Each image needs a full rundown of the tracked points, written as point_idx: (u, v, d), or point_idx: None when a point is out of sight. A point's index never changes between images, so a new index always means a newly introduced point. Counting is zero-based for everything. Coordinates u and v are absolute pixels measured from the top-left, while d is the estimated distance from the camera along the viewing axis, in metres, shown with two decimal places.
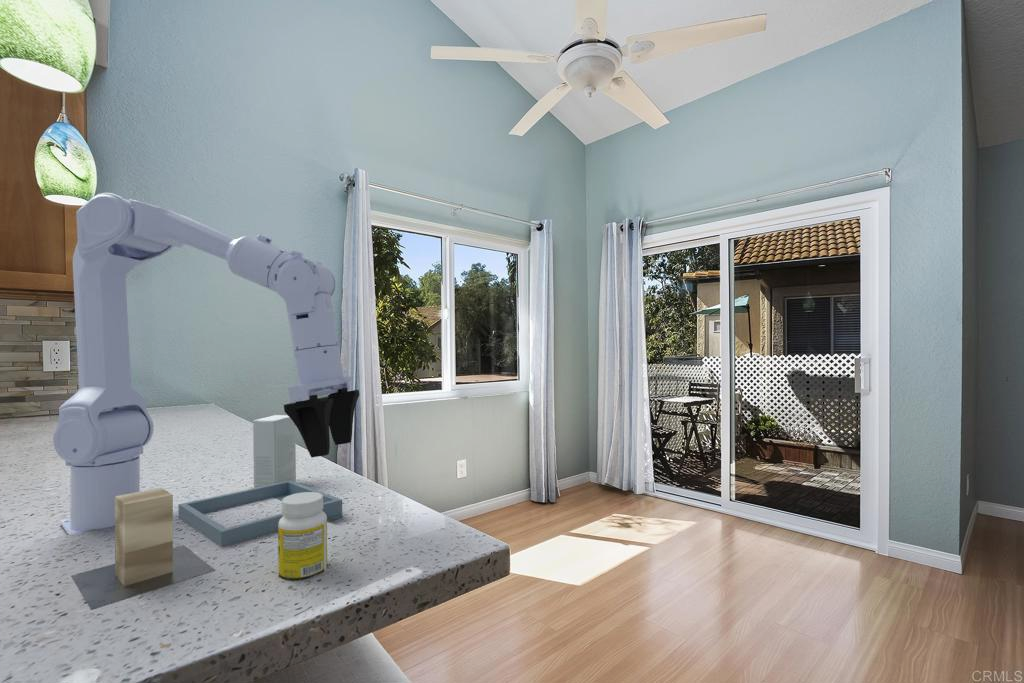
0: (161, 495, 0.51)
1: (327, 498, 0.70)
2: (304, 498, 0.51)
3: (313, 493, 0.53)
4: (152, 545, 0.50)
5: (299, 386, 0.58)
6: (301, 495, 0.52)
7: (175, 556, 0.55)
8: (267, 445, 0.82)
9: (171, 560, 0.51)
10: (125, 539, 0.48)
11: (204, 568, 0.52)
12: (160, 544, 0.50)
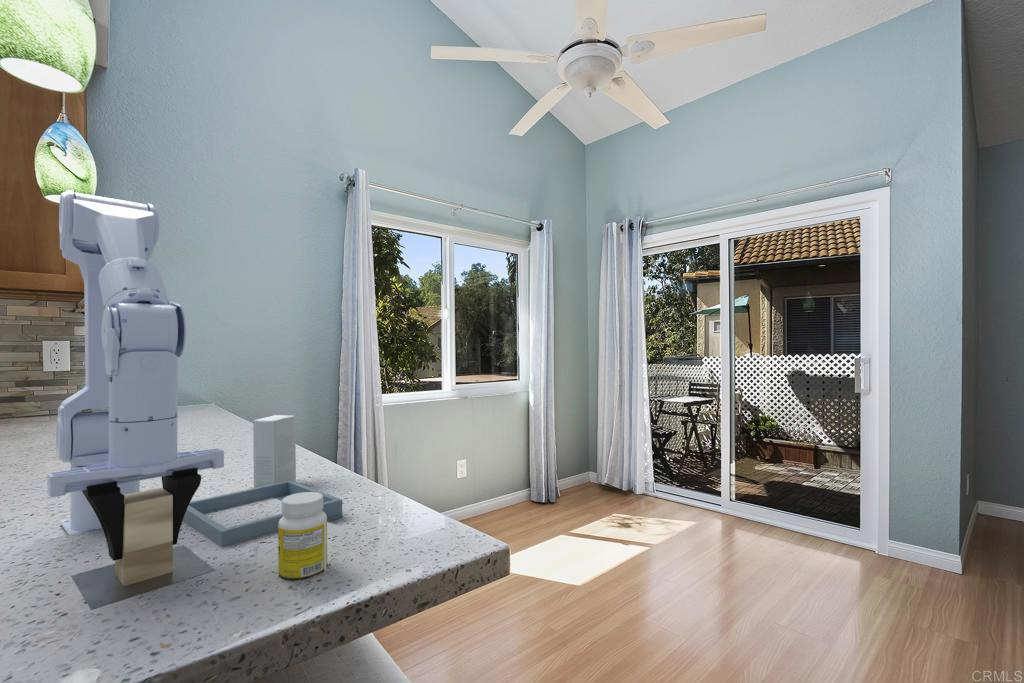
0: (161, 495, 0.51)
1: (327, 498, 0.70)
2: (304, 498, 0.51)
3: (313, 493, 0.53)
4: (152, 545, 0.50)
5: (49, 477, 0.45)
6: (301, 495, 0.52)
7: (175, 556, 0.55)
8: (267, 445, 0.82)
9: (171, 560, 0.51)
10: (125, 539, 0.48)
11: (204, 568, 0.52)
12: (160, 544, 0.50)
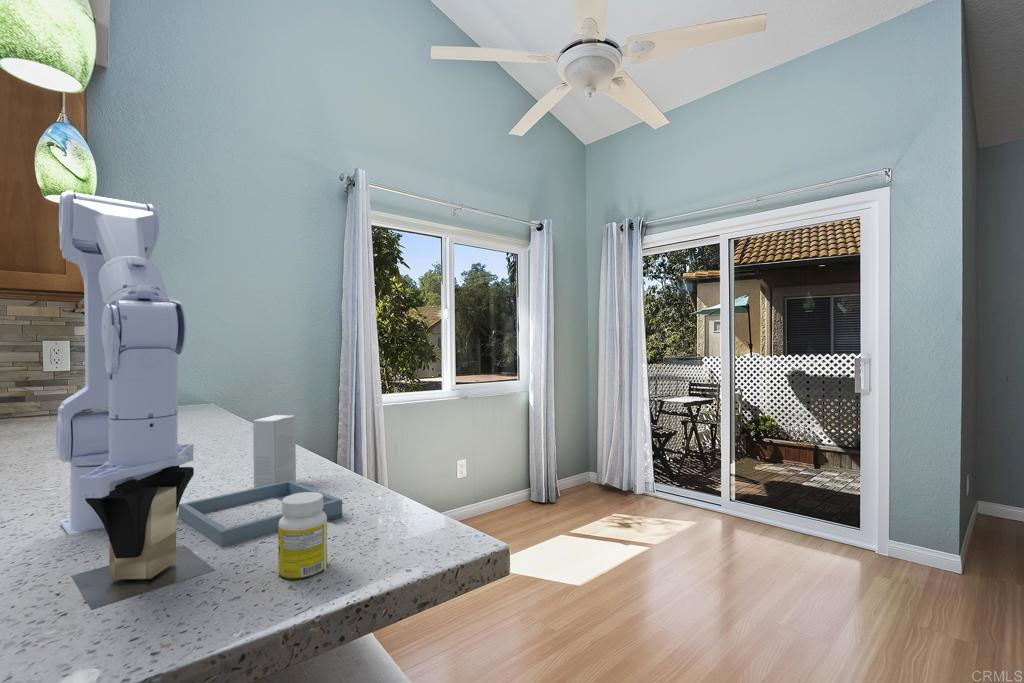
0: (164, 489, 0.52)
1: (327, 498, 0.70)
2: (304, 498, 0.51)
3: (313, 493, 0.53)
4: (164, 537, 0.51)
5: (95, 478, 0.44)
6: (301, 495, 0.52)
7: None
8: (267, 445, 0.82)
9: (175, 549, 0.53)
10: (151, 532, 0.49)
11: (204, 568, 0.52)
12: (169, 535, 0.52)
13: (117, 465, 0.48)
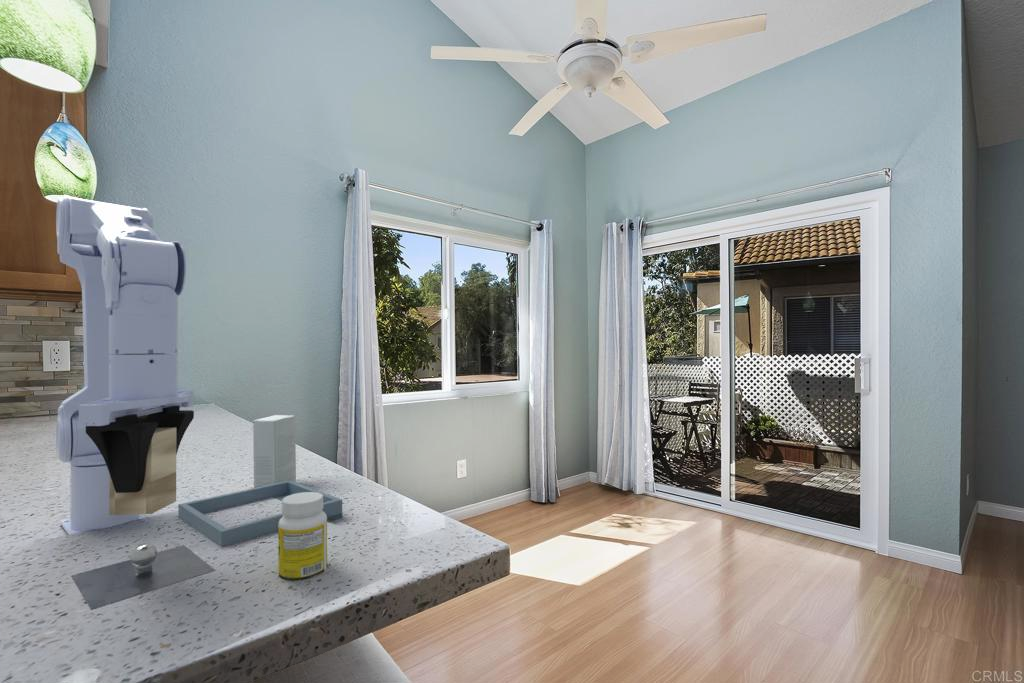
0: (164, 428, 0.52)
1: (327, 498, 0.70)
2: (304, 498, 0.51)
3: (313, 493, 0.53)
4: (164, 475, 0.51)
5: (95, 406, 0.44)
6: (301, 495, 0.52)
7: (175, 556, 0.55)
8: (267, 445, 0.82)
9: (175, 490, 0.53)
10: (151, 468, 0.49)
11: (204, 568, 0.52)
12: (169, 474, 0.52)
13: (117, 399, 0.48)
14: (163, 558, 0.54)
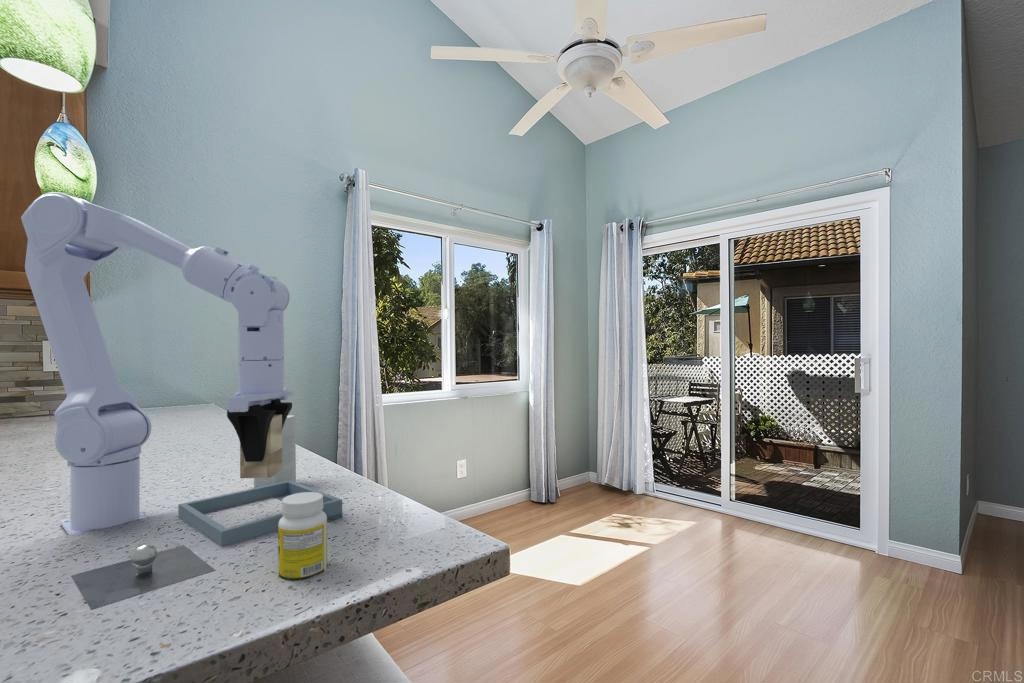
0: (274, 415, 0.70)
1: (327, 498, 0.70)
2: (304, 498, 0.51)
3: (313, 493, 0.53)
4: (276, 450, 0.69)
5: (240, 398, 0.61)
6: (301, 495, 0.52)
7: (175, 556, 0.55)
8: None
9: (281, 461, 0.71)
10: (270, 444, 0.67)
11: (204, 568, 0.52)
12: (279, 449, 0.70)
13: (247, 393, 0.66)
14: (163, 558, 0.54)
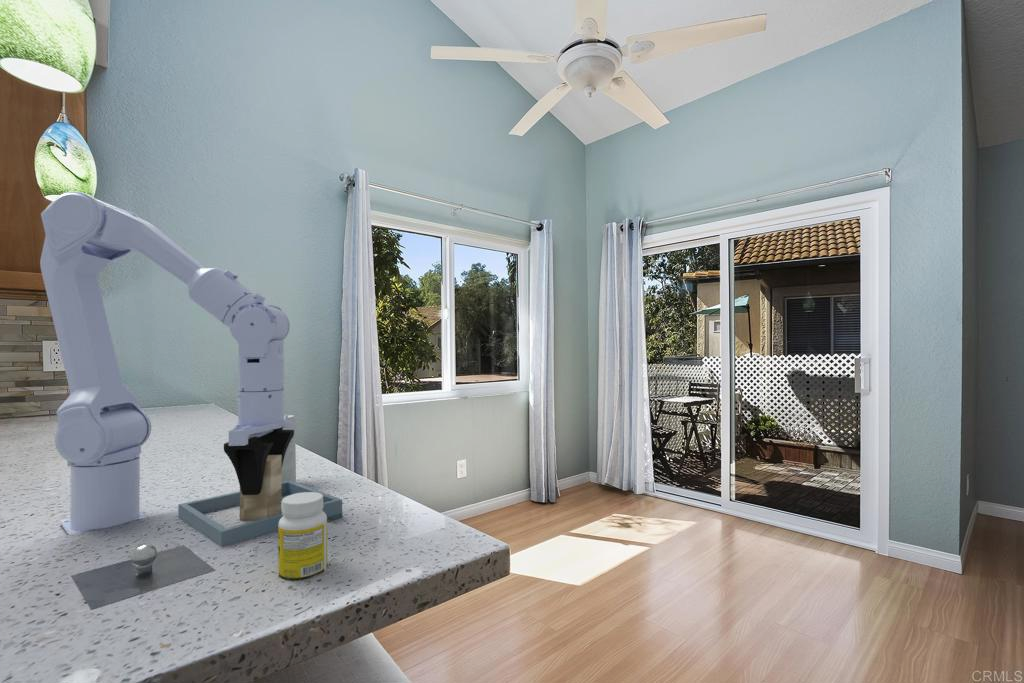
0: (274, 456, 0.70)
1: (327, 498, 0.70)
2: (304, 498, 0.51)
3: (313, 493, 0.53)
4: (275, 491, 0.69)
5: (240, 431, 0.61)
6: (301, 495, 0.52)
7: (175, 556, 0.55)
8: None
9: None
10: (270, 486, 0.67)
11: (204, 568, 0.52)
12: (278, 490, 0.70)
13: (247, 425, 0.66)
14: (163, 558, 0.54)
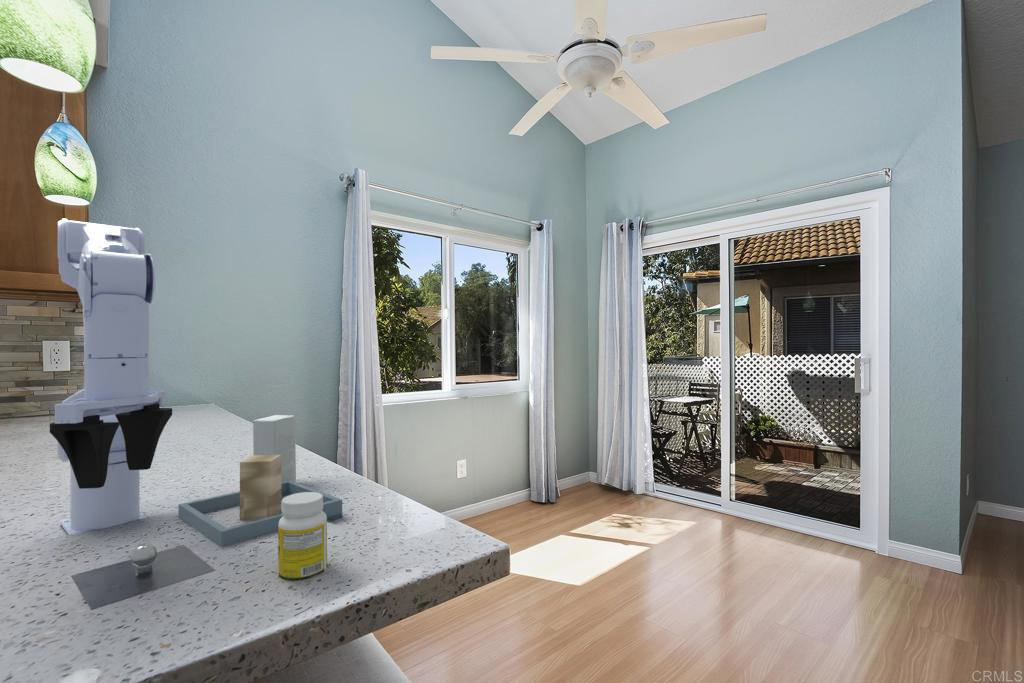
0: (274, 456, 0.70)
1: (327, 498, 0.70)
2: (304, 498, 0.51)
3: (313, 493, 0.53)
4: (275, 491, 0.69)
5: (69, 405, 0.48)
6: (301, 495, 0.52)
7: (175, 556, 0.55)
8: (267, 445, 0.82)
9: None
10: (270, 486, 0.67)
11: (204, 568, 0.52)
12: (278, 490, 0.70)
13: (91, 399, 0.53)
14: (163, 558, 0.54)
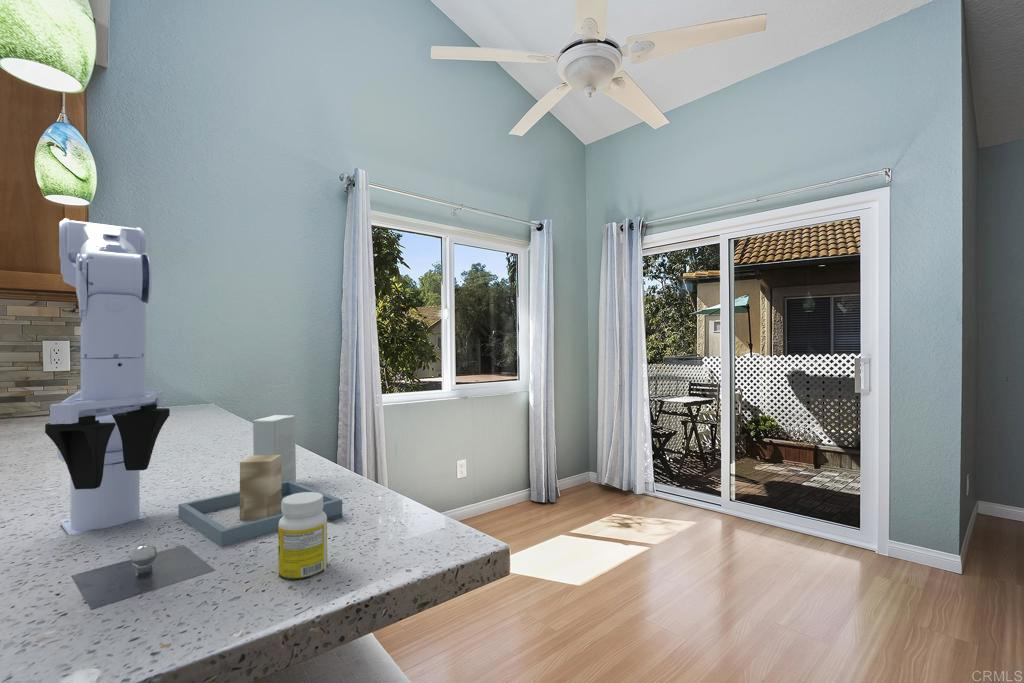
0: (274, 456, 0.70)
1: (327, 498, 0.70)
2: (304, 498, 0.51)
3: (313, 493, 0.53)
4: (275, 491, 0.69)
5: (65, 406, 0.48)
6: (301, 495, 0.52)
7: (175, 556, 0.55)
8: (267, 445, 0.82)
9: None
10: (270, 486, 0.67)
11: (204, 568, 0.52)
12: (278, 490, 0.70)
13: (87, 400, 0.52)
14: (163, 558, 0.54)
